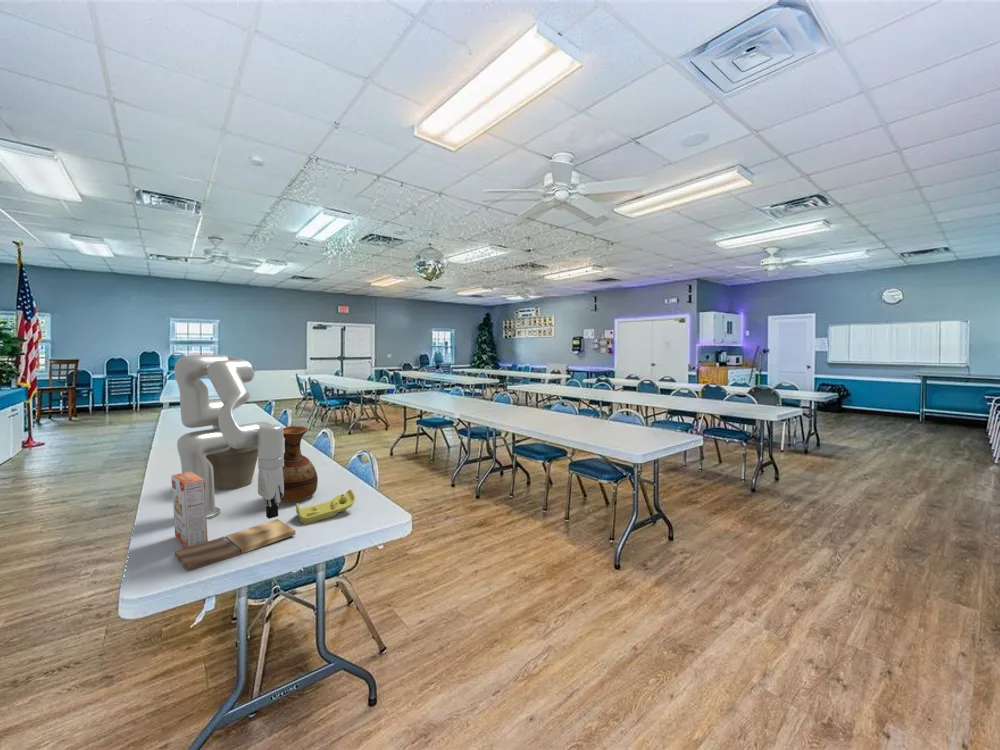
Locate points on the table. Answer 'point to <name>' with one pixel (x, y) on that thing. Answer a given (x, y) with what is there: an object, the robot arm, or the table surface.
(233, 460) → the plant pot
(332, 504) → the plastic component
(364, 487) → the table surface
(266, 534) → the oak plank
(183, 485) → the cracker box
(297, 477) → the ceramic pitcher
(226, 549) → the walnut board
